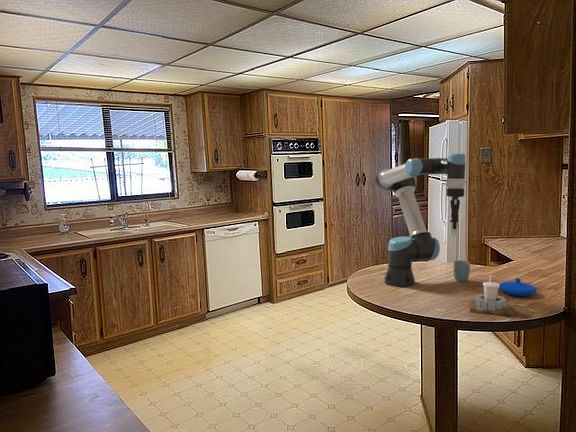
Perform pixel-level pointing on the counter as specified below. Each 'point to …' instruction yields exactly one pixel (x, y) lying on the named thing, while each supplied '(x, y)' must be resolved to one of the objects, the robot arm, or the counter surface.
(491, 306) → the ring
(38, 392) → the counter surface
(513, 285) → the blue funnel
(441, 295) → the counter surface
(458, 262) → the cup
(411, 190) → the robot arm
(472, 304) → the board
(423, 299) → the counter surface
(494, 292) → the smoothie
